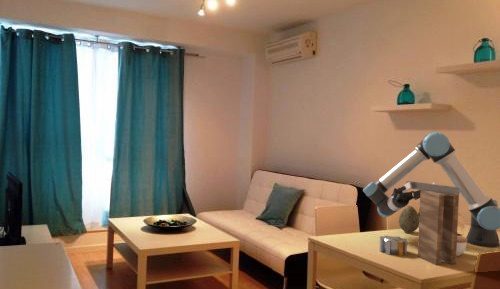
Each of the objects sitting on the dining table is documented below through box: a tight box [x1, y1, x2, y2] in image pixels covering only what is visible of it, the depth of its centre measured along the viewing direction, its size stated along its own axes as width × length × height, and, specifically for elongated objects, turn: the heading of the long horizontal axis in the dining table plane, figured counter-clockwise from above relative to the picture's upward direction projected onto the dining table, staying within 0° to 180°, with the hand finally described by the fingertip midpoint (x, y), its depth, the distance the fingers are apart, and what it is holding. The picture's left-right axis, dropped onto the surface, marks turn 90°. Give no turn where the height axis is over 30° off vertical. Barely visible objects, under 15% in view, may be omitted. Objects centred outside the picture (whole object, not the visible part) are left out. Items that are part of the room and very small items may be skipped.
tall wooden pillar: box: [417, 190, 460, 266], centre depth 185 cm, size 10×12×30 cm
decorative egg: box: [398, 205, 419, 234], centre depth 238 cm, size 11×11×15 cm
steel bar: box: [405, 180, 460, 196], centre depth 188 cm, size 3×24×3 cm, turn 33°
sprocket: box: [379, 235, 408, 256], centre depth 197 cm, size 12×12×6 cm
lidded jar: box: [456, 235, 468, 257], centre depth 196 cm, size 11×11×9 cm
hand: (423, 184), depth 194 cm, fingers open, 13 cm apart
